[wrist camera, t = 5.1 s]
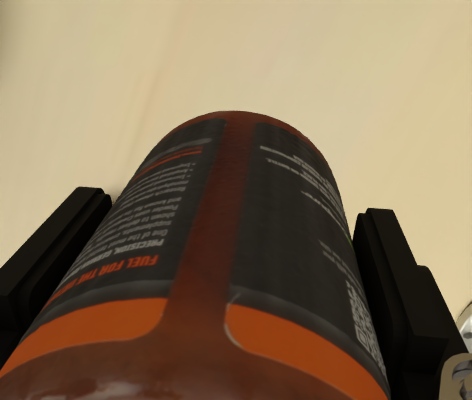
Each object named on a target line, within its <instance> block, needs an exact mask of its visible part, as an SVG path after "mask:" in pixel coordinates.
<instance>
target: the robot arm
mask: <svg viewBox="0 0 472 400" xmlns="http://www.w3.org/2000/svg"><path fill="white" fill-rule="evenodd" d="M111 208H112V200H111V197H110V195H109V194H105V193H104V191H103V189H101V188H92V187H77V188H76V189H75V190H74V191H73V192H72V193H71V194H70V195H69V196H68V197H67V199H66V200H65V201H64V202H63V203H62V204H61V205H60V206H59V207H58V208H57V209H56V210H55V211H54V212H53V213H52V214H51V215H50V217H49V218H48V219H47V220H46V221H45V222H44V223H43V224H42V225H41V226H40V227H39V228H38V229H37V230H36V231H35V232H34V233H33V235H32V236H31V237H30V238H29V239H28V240H27V241H26V242H25V243H24V244H23V245H22V246H21V247H20V248H19V249H18V250H17V251H16V252H15V254H14V255H13V256H12V257H11V258H10V259H9V260H8V261H7V262H6V263H5V264H4V265H3V266H2V267H1V268H0V370H1V369H2V367H3V366H4V365H5V363H6V362H7V360H8V359H9V357H10V356H11V355H12V353H13V352H14V350H15V349H16V347H17V345H18V344H19V342H20V340H21V338H22V337H23V335H24V334H25V333H26V331H27V330H28V329H29V327H30V326H31V324H32V323H33V321H34V319H35V318H36V317H37V316H38V314H39V313H40V312H41V310H42V308H43V307H44V305H45V304H46V302H47V301H48V300H49V298H50V297H51V295H52V294H53V292H54V291H55V290H56V288H57V287H58V285H59V284H60V282H61V281H62V279H63V278H64V276H65V275H66V273H67V272H68V270H69V269H70V268H71V266H72V265H73V263H74V262H75V260H76V259H77V257H78V256H79V255H80V253H81V252H82V250H83V249H84V247H85V246H86V244H87V243H88V241H89V240H90V238H91V237H92V236H93V234H94V233H95V231H96V230H97V228H98V226H99V225H100V223H101V222H102V221H103V219H104V218H105V216H106V215H107V214H108V212H109V211H110V209H111ZM352 242H353V248H354V251H355V255H356V259H357V263H358V267H359V271H360V276H361V279H362V282H363V286H364V289H365V293H366V298H367V301H368V306H369V310H370V313H371V316H372V321H373V327H374V330H375V333H376V336H377V341H378V344H379V348H380V352H381V355H382V359H383V362H384V365H385V371H386V377H387V381H388V384H389V387H390V392H391V400H472V304H471V305H470V306H469V307H467V308H466V310H465V311H464V312H463V313H462V315H461V316H460V317H459V319H458V321H457V323H456V324H455V322H454V319H453V317H452V315H451V313H450V311H449V309H448V307H447V305H446V303H445V300H444V298H443V296H442V294H441V292H440V290H439V288H438V286H437V284H436V282H435V279H434V277H433V275H432V273H431V271H430V270H429V268H428V267H426V266H421V265H417V263H416V261H415V259H414V256H413V254H412V252H411V250H410V247H409V245H408V243H407V241H406V238H405V236H404V234H403V231H402V229H401V227H400V225H399V222H398V220H397V218H396V216H395V213H394V211H393V210H390V209H377V208H368V209H367V210H366V213H359V214H358V216H357V220H356V225H355V230H354V235H353V240H352Z"/></svg>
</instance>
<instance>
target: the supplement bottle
mask: <svg viewBox="0 0 472 400" xmlns="http://www.w3.org/2000/svg"><path fill="white" fill-rule="evenodd" d="M0 400H391V392H390V387H389V384H388V381H387V377H386V371H385V365H384V362H383V359H382V355H381V352H380V348H379V344H378V341H377V336H376V333H375V330H374V327H373V321H372V316H371V313H370V310H369V306H368V301H367V298H366V293H365V289H364V286H363V282H362V279H361V276H360V271H359V267H358V263H357V259H356V255H355V251H354V248H353V242H352V239H351V235H350V232H349V227H348V223H347V219H346V216H345V212H344V209H343V204H342V200H341V196H340V193H339V190H338V187H337V183H336V181H335V178H334V176H333V174H332V171H331V169H330V167H329V165H328V163H327V161H326V160H325V158H324V156H323V155H322V153H321V152H320V151H319V150H318V149H317V148H316V147H315V145H314V144H313V143H312V142H311V141H310V140H309V139H308V138H307V137H306V136H304V135H303V134H302V133H301V132H300V131H298V130H297V129H295V128H294V127H292V126H290V125H289V124H287V123H284V122H282V121H280V120H278V119H275V118H272V117H270V116H267V115H262V114H258V113H253V112H247V111H218V112H212V113H208V114H205V115H201V116H198V117H196V118H194V119H191V120H189V121H187V122H185V123H183V124H181V125H179V126H178V127H176V128H174V129H173V130H172V131H171V132H169V133H168V134H167V135H166V136H165V137H164V138H163V139H162V140H161V141H160V142H159V143H158V144H157V145H156V146H155V147H154V148H153V149H152V150H151V152H150V153H149V154H148V156H147V157H146V158H145V160H144V161H143V162H142V164H141V165H140V166H139V168H138V169H137V171H136V172H135V174H134V176H133V177H132V178H131V180H130V181H129V183H128V184H127V186H126V187H125V188H124V190H123V191H122V193H121V195H120V196H119V197H118V199H117V200H116V202H115V204H114V205H113V206H112V208H111V209H110V211H109V212H108V214H107V215H106V216H105V218H104V219H103V221H102V222H101V223H100V225H99V226H98V228H97V230H96V231H95V233H94V234H93V236H92V237H91V238H90V240H89V241H88V243H87V244H86V246H85V247H84V249H83V250H82V252H81V253H80V255H79V256H78V257H77V259H76V260H75V262H74V263H73V265H72V266H71V268H70V269H69V270H68V272H67V273H66V275H65V276H64V278H63V279H62V281H61V282H60V284H59V285H58V287H57V288H56V290H55V291H54V292H53V294H52V295H51V297H50V298H49V300H48V301H47V302H46V304H45V305H44V307H43V308H42V310H41V312H40V313H39V314H38V316H37V317H36V318H35V319H34V321H33V323H32V324H31V326H30V327H29V329H28V330H27V331H26V333H25V334H24V335H23V337H22V338H21V340H20V342H19V344H18V345H17V347H16V349H15V350H14V352H13V353H12V355H11V356H10V357H9V359H8V360H7V362H6V363H5V365H4V366H3V367H2V369H1V370H0Z"/></svg>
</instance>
